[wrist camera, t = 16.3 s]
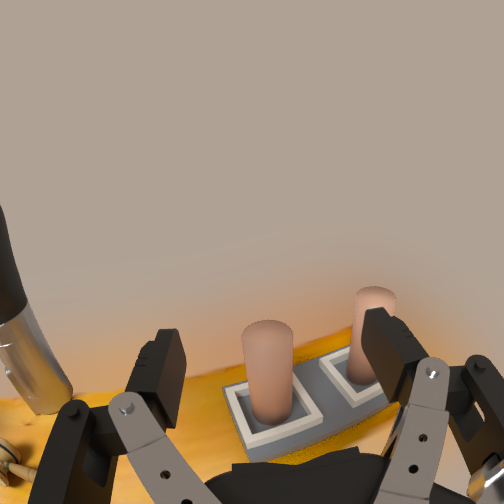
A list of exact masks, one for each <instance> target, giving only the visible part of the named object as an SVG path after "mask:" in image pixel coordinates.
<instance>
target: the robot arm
mask: <svg viewBox="0 0 504 504" xmlns="http://www.w3.org/2000/svg"><path fill="white" fill-rule="evenodd" d="M361 346H362V350H363V352H364V354H365V356H366V358H367V360H368V362H369V364H370V366H371V367H372V369H373V371H374V373H375V375H376V377H377V379H378V382H379V384H380V386H381V388H382V390H383V392H384V394H385V396H386V398H387V400H388V402H389V404H390V403H394V402H397V401H399V403H400V408H399V410H398V413H397V416H396V419H395V422H394V425H393V427H392V430H391V433H390V436H389V438H388V441H387V443H386V446H385V447H384V449H383V451H382V453H381V455H375V454H370V453H360V452H359V449H358V446H356V447H352V448H348V449H344V450H339V451H335V452H330V453H327V454H324V455H322V456H320V457H317V458H315V459H312V460H310V461H307V462H305V463H302V464H299V465H288V464H277V463H268V462H256V463H236V464H232V471H229V472H226V473H223V474H220V475H218V476H215V477H213V478H211V479H210V480H208V481H207V482H205V483H203V482H202V481H201V479H200V478H199V477H198V476H197V475H196V473H195V472H194V471H193V470H192V468H191V467H190V466H189V465H188V463H187V462H186V461H185V459H184V458H183V457H182V456H181V454H180V453H179V452H178V450H177V449H176V447H175V446H174V445H173V443H172V442H171V441H170V439H169V438H168V436H167V435H166V434H165V433H166V428H172V429H175V427H176V422H177V416H178V410H179V404H180V399H181V393H182V388H183V383H184V378H185V372H186V356H185V352H184V349H183V346H182V342H181V339H180V336H179V332H178V330H177V329H159V330H158V333H157V335H156V338H155V341H148V342H147V343H146V344H145V345H144V346H143V347H142V348H141V350H140V353H139V355H138V359H137V360H136V363H135V366H134V368H133V371H132V373H131V376H130V379H129V381H128V384H127V386H126V389H125V392H123V393H120V394H118V395H116V396H115V397H114V398H113V399H112V400H111V401H110V403H109V405H107V406H101V407H94V408H89V406H88V405H87V404H86V403H85V402H84V401H82V400H77V399H76V400H71V401H70V399H71V397H72V394H73V388H72V385H71V383H70V382H69V380H68V378H67V376H66V375H65V374H64V372H63V370H62V368H61V367H60V365H59V363H58V361H57V360H56V358H55V356H54V354H53V352H52V350H51V349H50V347H49V345H48V343H47V341H46V339H45V337H44V335H43V333H42V331H41V329H40V327H39V325H38V323H37V320H36V318H35V316H34V314H33V311H32V310H31V307H30V304H29V302H28V300H27V297H26V295H25V292H24V289H23V286H22V282H21V279H20V276H19V272H18V270H17V267H16V263H15V260H14V256H13V252H12V248H11V244H10V239H9V234H8V230H7V226H6V220H5V217H4V213H3V211H2V208H1V206H0V358H1V360H2V362H3V363H4V365H5V373H6V375H7V377H8V378H9V380H10V381H11V382H12V384H13V386H14V387H15V388H16V390H17V391H18V393H19V394H20V395H21V397H22V398H23V399H24V401H25V402H26V403H27V405H28V406H29V407H30V409H31V410H32V411H33V412H34V414H35V415H38V414H53V413H56V412H58V411H59V413H58V415H57V418H56V420H55V423H54V425H53V428H52V430H51V433H50V435H49V438H48V441H47V443H46V446H45V449H44V452H43V455H42V457H41V460H40V463H39V466H38V469H37V473H36V476H35V479H34V482H33V486H32V489H31V493H30V496H29V500H28V504H110V502H111V495H112V489H113V483H114V477H115V472H116V466H117V461H118V456H119V455H124V454H127V457H128V459H129V461H130V463H131V465H132V467H133V468H134V470H135V472H136V474H137V475H138V477H139V479H140V481H141V482H142V484H143V485H144V487H145V489H146V490H147V492H148V493H149V495H150V497H151V498H152V500H153V501H154V503H155V504H504V379H503V377H502V376H501V375H500V373H499V372H498V370H497V369H496V368H495V366H494V365H493V364H492V363H491V361H490V360H489V359H488V358H486V357H485V356H482V355H472V356H470V357H469V358H468V360H467V361H466V363H465V365H464V366H448V365H447V364H446V363H445V362H444V361H443V360H441V359H439V358H436V357H429V355H428V354H427V353H426V351H425V350H424V348H423V347H422V346H421V344H420V343H419V342H418V340H417V339H416V338H415V337H414V336H413V334H412V332H411V331H409V328H408V327H407V326H406V324H405V323H404V322H403V321H402V320H400V319H398V318H397V317H395V316H390V315H389V313H388V312H387V311H386V310H385V308H384V307H378V308H372V309H367V310H366V311H365V315H364V322H363V328H362V334H361ZM475 402H477V403H478V405H479V407H480V408H481V410H482V412H483V413H484V417H485V421H483V419H482V417H481V415H480V414H479V412H478V410H477V408H476V407H475V405H474V403H475ZM448 424H449V427H450V429H451V431H452V433H453V435H454V437H455V439H456V442H457V444H458V446H459V448H460V450H461V453H462V455H463V457H464V460H465V462H466V465H467V467H468V470H469V472H470V475H471V478H470V481H469V485H468V489H467V492H466V493H467V496H468V497H469V498H468V497H465V496H463V495H461V494H458V493H456V492H454V491H451V490H449V489H447V488H445V487H443V486H441V485H438V484H436V483H434V479H435V476H436V472H437V469H438V465H439V461H440V457H441V454H442V449H443V445H444V440H445V435H446V431H447V425H448Z"/></svg>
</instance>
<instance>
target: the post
mask: <svg viewBox="0 0 504 504" xmlns="http://www.w3.org/2000/svg"><path fill="white" fill-rule="evenodd" d="M241 338H242V346H243V353H244V360H245V367H246V373H247V380H248V387H249V393H250V400H251V406H252V413H253V416H254V418H255V419H256V420H257V421H258V422H259V423H261V424H264V425H269V426H274V425H279V424H281V423H283V422H285V421H286V420H287V419H288V418H289V417H290V415H291V413H292V383H293V333H292V330H291V328H290V327H289V326H287V325H286V324H285V323H282V322H279V321H275V320H264V321H258V322H255V323H253V324H251V325H249V326H248V327H247V328H245V330H244V331H243V333H242V337H241Z"/></svg>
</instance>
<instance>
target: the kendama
mask: <svg viewBox="0 0 504 504" xmlns="http://www.w3.org/2000/svg"><path fill="white" fill-rule="evenodd" d="M20 460H21V455H20V453H19V452H18V451H17V449H16V448H15V447H13V446H12V445H11V444H10V443H9V442H7V441H6V440H4V439H2V438H0V485H2V486H4V487H7V486H8V485H9V481H8V478H7V472H8V470H9V471H11V472H12V473H14V474H16V475H17V476H19V477H21V478H23V479H25V480H27V481H29V482H31V483H33V482H34V479H35V476H36V473H37V470H36V469H33V468H29V467H26V466H23V465H19V463H20Z"/></svg>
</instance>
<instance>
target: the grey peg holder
mask: <svg viewBox="0 0 504 504" xmlns="http://www.w3.org/2000/svg"><path fill="white" fill-rule="evenodd" d="M395 303H396V296H395V294H394V293H393V292H391V291H390V290H388V289H385V288H382V287H366V288H363V289H360V290H359V291H358V292H357V294H356V301H355V311H354V319H353V327H352V335H351V342H350V345H347V346H345V347H343V348H340V349H338V350H335V351H333V352H330V353H327V354H325V355H322V356H320V357H317V358H314V359H311V360H309V361H306V362H303V363H300V364H297V365H295V366H293V383H292V413H291V415H290V417H289V418H288V419H287V420H286V421H285V422H283V423H281V424H279V425H274V426H269V425H264V424H261V423H259V422H258V421H257V420H256V419H255V418H254V416H253V413H252V406H251V400H250V393H249V387H248V380H247V381H243V382H239V383H236V384H232V385H228V386H224V387H222V389H223V393H224V396H225V399H226V402H227V404H228V407H229V410H230V413H231V415H232V418H233V421H234V423H235V426H236V429H237V431H238V434H239V436H240V439H241V441H242V444H243V447H244V449H245V451H246V454H247V456H248V459H249V461H250V463H256V462H267V461H270V460H273V459H276V458H279V457H282V456H285V455H287V454H290V453H293V452H296V451H298V450H301V449H303V448H306V447H308V446H311V445H313V444H315V443H318V442H320V441H322V440H325V439H327V438H329V437H331V436H334V435H336V434H338V433H340V432H342V431H344V430H346V429H348V428H350V427H352V426H354V425H356V424H358V423H360V422H362V421H364V420H366V419H367V418H369V417H371V416H373V415H375V414H376V413H378V412H380V411H382V410H383V409H385V408H387V407H388V406H390V405H392V404H393V403H390V404H389V402H388V400H387V398H386V396H385V394H384V392H383V390H382V388H381V386H380V384H379V382H378V379H377V377H376V375H375V373H374V371H373V369H372V367H371V366H370V364H369V362H368V360H367V358H366V356H365V354H364V352H363V350H362V346H361V334H362V328H363V322H364V315H365V311H366V310H367V309H372V308H378V307H384V308H385V310H386V311H387V312H388V313H389V315H390V316H393V314H394V308H395ZM394 403H395V402H394Z"/></svg>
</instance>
